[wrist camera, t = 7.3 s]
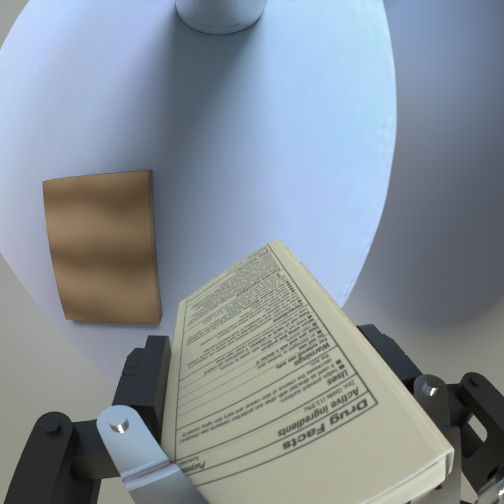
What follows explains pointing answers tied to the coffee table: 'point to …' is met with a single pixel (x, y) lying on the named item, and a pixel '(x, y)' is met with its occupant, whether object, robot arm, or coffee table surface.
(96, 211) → the walnut board
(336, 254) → the coffee table surface
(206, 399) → the skincare box
